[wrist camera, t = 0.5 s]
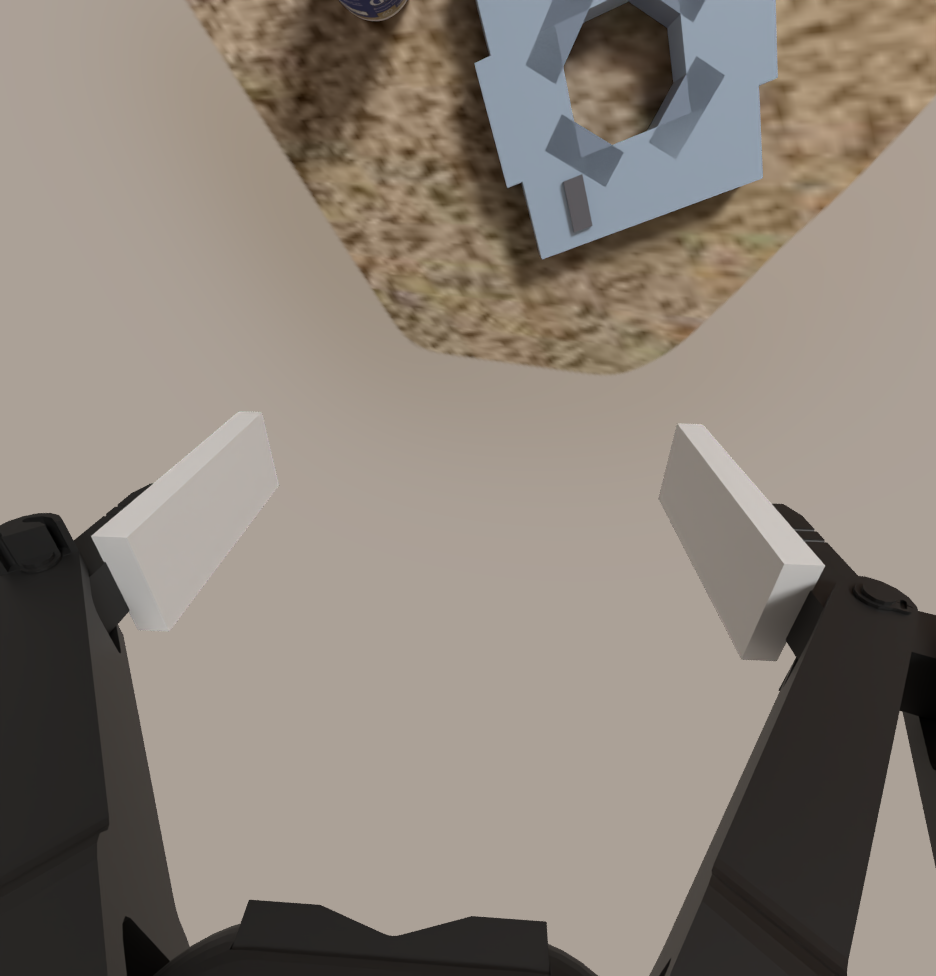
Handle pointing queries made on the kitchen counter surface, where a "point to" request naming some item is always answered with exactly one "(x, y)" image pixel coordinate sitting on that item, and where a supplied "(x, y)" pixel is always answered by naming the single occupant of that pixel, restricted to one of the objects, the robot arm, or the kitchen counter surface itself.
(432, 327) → the kitchen counter surface
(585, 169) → the dock
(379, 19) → the pill bottle
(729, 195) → the kitchen counter surface
